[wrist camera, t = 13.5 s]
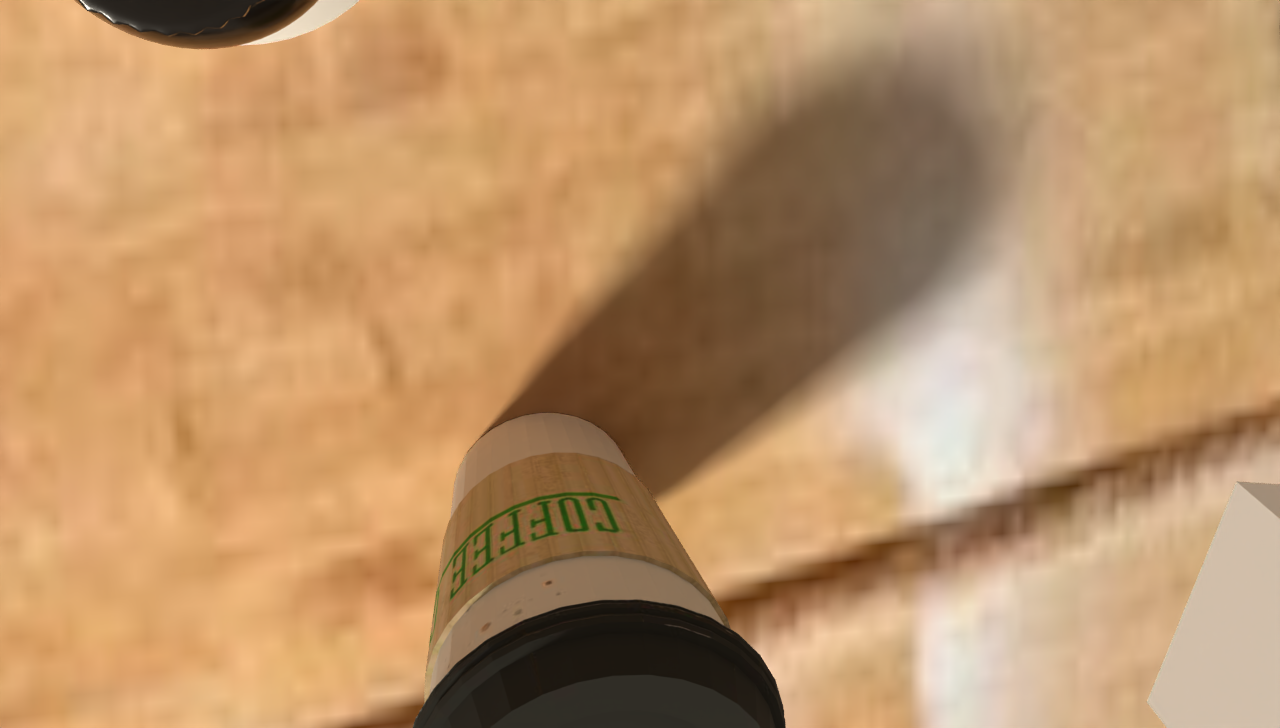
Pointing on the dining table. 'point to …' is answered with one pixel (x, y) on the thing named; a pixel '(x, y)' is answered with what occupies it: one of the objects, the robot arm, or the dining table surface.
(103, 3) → the supplement bottle
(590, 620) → the coffee cup
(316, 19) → the dish
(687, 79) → the dining table surface
